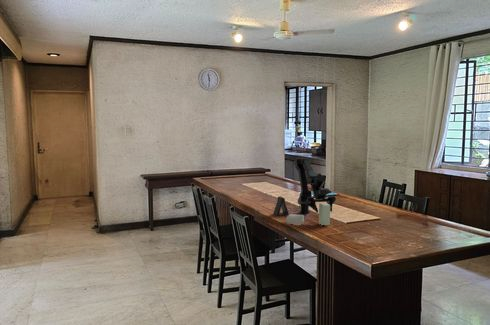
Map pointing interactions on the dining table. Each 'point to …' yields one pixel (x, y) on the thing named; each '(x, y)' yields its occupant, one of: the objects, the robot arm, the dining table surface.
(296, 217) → the top slab
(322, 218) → the pillar
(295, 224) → the base slab
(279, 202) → the phone stand
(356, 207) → the dining table surface
